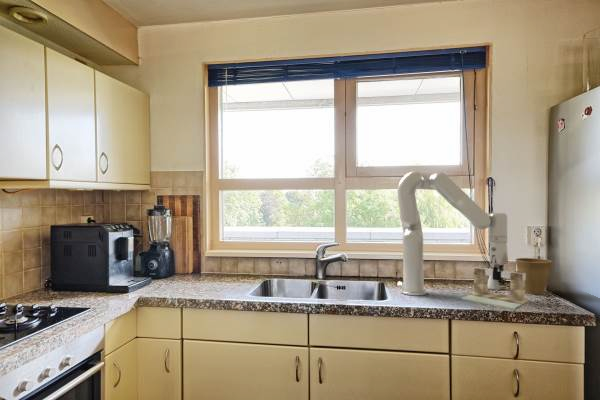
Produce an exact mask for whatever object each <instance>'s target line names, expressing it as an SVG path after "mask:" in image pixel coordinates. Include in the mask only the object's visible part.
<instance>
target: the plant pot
mask: <svg viewBox="0 0 600 400" xmlns="http://www.w3.org/2000/svg"><path fill="white" fill-rule="evenodd" d="M515 262H516V269H517V271H519V272H525V273H526V280H525V294H531V295H543V294H544V292H545V291H546V290H545V289H546V288H547V285H548V281H549V278H550V274H551V269H552V260H550V259H543V258H533V257H531V258H530V257H520V258H516V259H515Z"/></svg>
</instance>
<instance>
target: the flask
mask: <svg viewBox="0 0 600 400" xmlns="http://www.w3.org/2000/svg"><path fill="white" fill-rule="evenodd" d="M488 290H494V291H499V290H501V285H500V283H499V280H493V276H488Z"/></svg>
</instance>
